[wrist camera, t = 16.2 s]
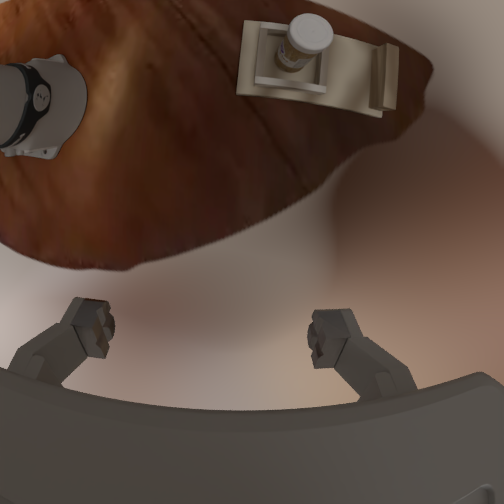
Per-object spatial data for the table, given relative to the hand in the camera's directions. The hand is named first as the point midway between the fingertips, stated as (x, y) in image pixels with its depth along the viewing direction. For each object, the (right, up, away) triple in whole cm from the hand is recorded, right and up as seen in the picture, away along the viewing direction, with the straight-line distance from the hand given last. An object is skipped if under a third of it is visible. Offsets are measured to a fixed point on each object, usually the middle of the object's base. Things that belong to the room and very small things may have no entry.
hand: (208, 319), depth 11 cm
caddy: (+11, +30, +24) cm, 40 cm away
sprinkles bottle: (+7, +30, +23) cm, 38 cm away
